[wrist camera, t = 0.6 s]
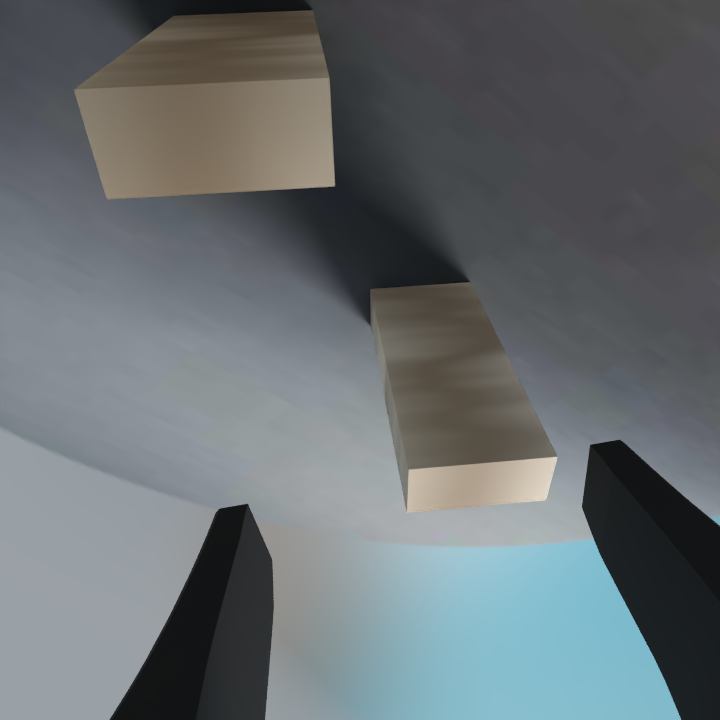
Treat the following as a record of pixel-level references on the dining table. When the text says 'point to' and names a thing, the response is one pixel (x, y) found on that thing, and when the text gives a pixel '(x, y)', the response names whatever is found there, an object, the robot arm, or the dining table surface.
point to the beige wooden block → (213, 108)
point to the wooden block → (455, 402)
